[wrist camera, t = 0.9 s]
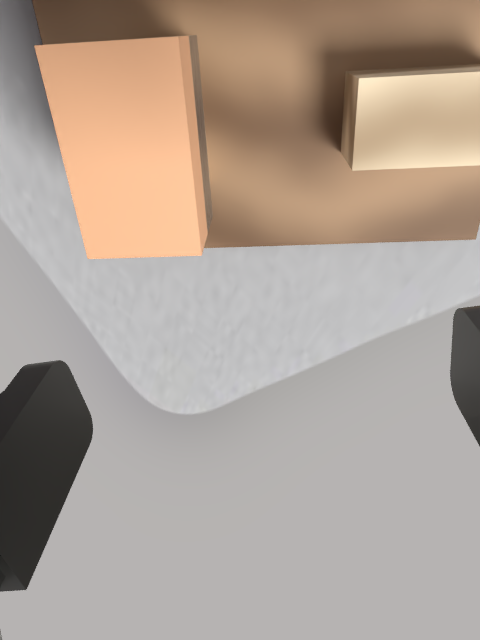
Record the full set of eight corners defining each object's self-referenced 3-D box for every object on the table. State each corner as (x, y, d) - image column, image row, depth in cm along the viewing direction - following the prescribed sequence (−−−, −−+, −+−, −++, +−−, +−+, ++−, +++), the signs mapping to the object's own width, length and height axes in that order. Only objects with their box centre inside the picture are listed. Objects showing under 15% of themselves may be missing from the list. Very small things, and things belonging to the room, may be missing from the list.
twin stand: (30, -39, 23) (-23, -55, 18) (539, -78, 21) (608, -105, 17) (97, 245, 31) (70, 280, 26) (469, 233, 29) (504, 267, 25)
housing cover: (61, 43, 18) (34, 45, 16) (188, 35, 18) (178, 36, 15) (104, 237, 22) (87, 258, 20) (207, 233, 22) (201, 255, 20)
